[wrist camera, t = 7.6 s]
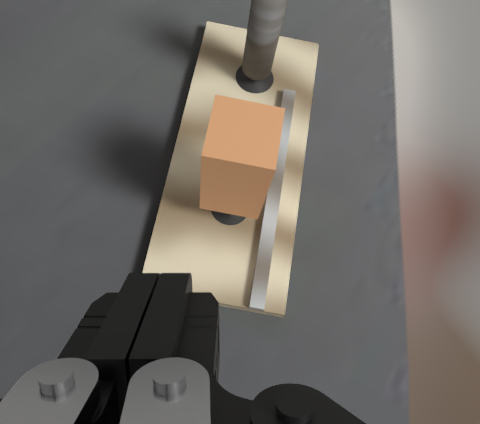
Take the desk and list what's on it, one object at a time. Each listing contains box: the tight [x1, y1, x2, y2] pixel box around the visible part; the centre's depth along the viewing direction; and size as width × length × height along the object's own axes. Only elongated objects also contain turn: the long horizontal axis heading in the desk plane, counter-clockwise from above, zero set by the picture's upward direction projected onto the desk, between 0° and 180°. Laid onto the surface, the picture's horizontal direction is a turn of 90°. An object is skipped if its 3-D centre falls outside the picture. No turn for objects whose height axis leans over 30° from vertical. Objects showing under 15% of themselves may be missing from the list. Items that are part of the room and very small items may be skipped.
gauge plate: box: [142, 0, 319, 317], centre depth 31 cm, size 24×10×10 cm, turn 171°
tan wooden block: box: [199, 94, 285, 219], centre depth 29 cm, size 4×4×9 cm
